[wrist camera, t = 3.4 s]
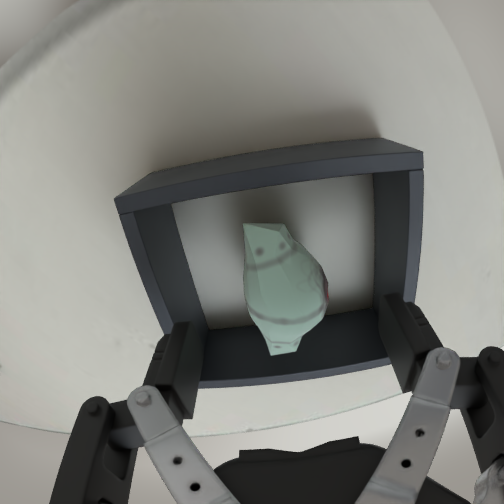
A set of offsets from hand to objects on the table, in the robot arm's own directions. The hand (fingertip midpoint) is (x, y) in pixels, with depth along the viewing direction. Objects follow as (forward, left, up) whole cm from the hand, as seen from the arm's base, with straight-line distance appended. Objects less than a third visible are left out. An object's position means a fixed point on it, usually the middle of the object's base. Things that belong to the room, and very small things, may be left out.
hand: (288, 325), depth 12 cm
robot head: (0, 0, -7) cm, 7 cm away
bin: (0, 0, -7) cm, 7 cm away
